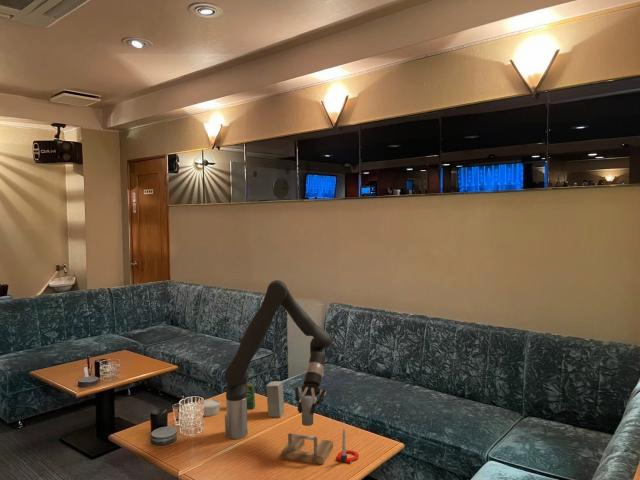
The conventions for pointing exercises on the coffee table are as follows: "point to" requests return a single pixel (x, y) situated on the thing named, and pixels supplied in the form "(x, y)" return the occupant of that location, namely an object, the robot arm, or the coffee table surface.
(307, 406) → the grey tapered capsule
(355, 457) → the tow hook
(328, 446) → the wooden gate frame
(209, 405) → the ramekin
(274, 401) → the skincare box
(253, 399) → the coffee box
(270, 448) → the coffee table surface
